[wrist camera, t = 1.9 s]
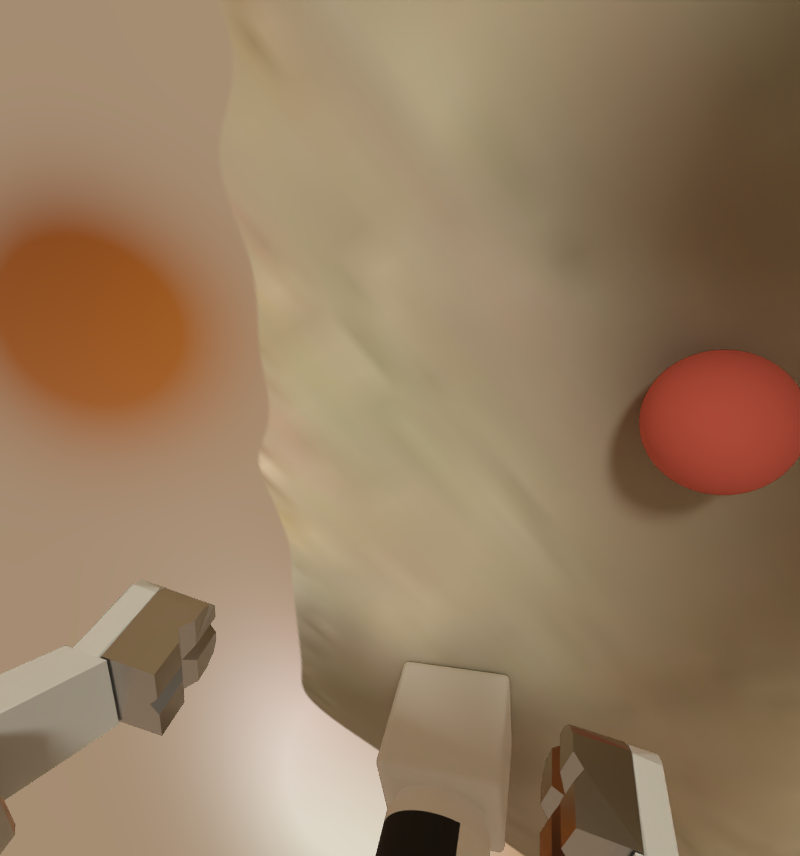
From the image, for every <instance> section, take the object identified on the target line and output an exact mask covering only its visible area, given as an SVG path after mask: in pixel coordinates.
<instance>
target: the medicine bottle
mask: <svg viewBox="0 0 800 856" xmlns="http://www.w3.org/2000/svg"><path fill="white" fill-rule="evenodd" d="M511 749H512V731H511V706H510V682H509V678H508V677H507V676H506V675H503V674H496V673H488V672H481V671H474V670H467V669H459V668H452V667H445V666H437V665H430V664H423V663H415V662H406V663H405V664H404V666H403V670H402V673H401V677H400V680H399V684H398V687H397V691H396V694H395V698H394V701H393V705H392V708H391V712H390V715H389V719H388V722H387V726H386V729H385V733H384V736H383V740H382V743H381V747H380V750H379V754H378V757H377V767H378V771H379V776H380V780H381V783H382V788H383V792H384V796H385V801H386V805H387V812H386V817H385V821H384V824H383V829H382V833H381V837H380V841H379V845H378V849H377V853H376V856H490V850H491V851H496V852H501V851H503V849H504V846H505V834H506V819H507V805H508V791H509V777H510V763H511Z"/></svg>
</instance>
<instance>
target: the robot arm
mask: <svg viewBox="0 0 800 856" xmlns="http://www.w3.org/2000/svg"><path fill="white" fill-rule="evenodd" d="M214 618H215V606H214V605H212V604H209V603H207V602H203V601H201V600H198V599H195V598H192V597H189V596H187V595H184V594H181V593H178V592H175V591H172V590H169V589H167V588H165V587H162V586H159V585H156V584H153V583H150V582H147V581H144V580H140V581H139V582H137V583H135V584H134V585H132V586H131V587H130V588H129V589H128V590H127V591H126V592H125V593H124V594H123V595H122V596H121V597H120V598H119V599H118V601H117V602H116V603H115V604H114V605H113V606H112V607H111V608H110V609H109V610H108V611H107V612H106V613H105V614H104V615H103V616H102V617H101V618H100V619H99V620H98V622H97V623H96V624H95V625H94V626H93V627H92V628H91V629H90V630H89V631H88V632H87V633H86V634H85V635H84V636H83V637H82V638H81V639H80V641H79V642H78V643H77V644H76V645H75V646H74V647H71V646H67V645H65V646H63V647H60V648H58V649H56V650H54V651H51V652H49V653H47V654H45V655H42V656H40V657H38V658H36V659H33V660H31V661H29V662H27V663H24V664H22V665H20V666H17V667H15V668H13V669H11V670H8V671H6V672H4V673H2V674H0V854H1V852H2V851H3V850H4V848H5V847H6V846H7V845H8V843H9V842H10V841H11V839H12V838H13V837H14V835H15V823H14V821H13V818H12V816H11V814H10V812H9V810H8V807H7V805H6V803H5V801H4V800H5V799H7V798H8V797H10V796H12V795H13V794H15V793H16V792H18V791H19V790H21V789H22V788H24V787H25V786H27V785H28V784H30V783H31V782H33V781H34V780H36V779H37V778H39V777H40V776H42V775H43V774H45V773H46V772H48V771H49V770H51V769H52V768H54V767H55V766H57V765H58V764H60V763H61V762H63V761H64V760H66V759H67V758H69V757H71V756H72V755H74V754H75V753H77V752H78V751H79V750H81V749H82V748H84V747H86V746H87V745H89V744H90V743H91V742H93V741H95V740H96V739H98V738H99V737H101V736H102V735H104V734H105V733H107V732H108V731H110V730H111V729H113V728H114V727H115V726H117V725H119V721H121V722H124V723H127V724H129V725H132V726H135V727H138V728H141V729H144V730H147V731H150V732H152V733H156V734H158V735H161V736H162V735H163V733H164V732H165V730H166V729H167V727H168V726H169V724H170V723H171V721H172V720H173V718H174V717H175V715H176V714H177V712H178V711H179V709H180V708H181V706H182V705H183V703H184V688H186V687H187V686H189V685H191V684H193V683H195V682H197V681H198V680H199V679H200V677H201V675H202V674H203V672H204V671H205V669H206V668H207V666H208V663H209V661H210V659H211V656H212V654H213V652H214V647H215V642H216V632H215V630H214V629H213V627H212V626H211V625H210V624H211V622H212V621H213V620H214ZM541 806H542V808H543V810H544V812H545V814H546V816H547V818H548V821H547V823H546V824H545V826H544V828H543V829H542V831H541V832H540V856H679V852H678V847H677V841H676V835H675V830H674V824H673V819H672V813H671V808H670V802H669V797H668V791H667V786H666V780H665V774H664V769H663V763H662V761H661V759H660V757H659V756H658V755H657V754H656V753H654V752H651V751H648V750H645V749H642V748H639V747H636V746H632V745H629V744H626V743H625V742H623V741H620V740H617V739H614V738H611V737H607V736H604V735H601V734H598V733H595V732H592V731H589V730H586V729H582V728H579V727H576V726H573V725H570V724H569V725H566V726H565V727H564V728H563V730H562V732H561V733H560V746H557V747H554V748H552V749H551V751H550V753H549V755H548V757H547V759H546V763H545V767H544V771H543V775H542V784H541Z"/></svg>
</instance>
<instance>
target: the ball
mask: <svg viewBox="0 0 800 856" xmlns="http://www.w3.org/2000/svg"><path fill="white" fill-rule="evenodd" d="M639 427H640V436H641V439H642V443H643V445H644V448H645V450H646V452H647V454H648V456H649V457H650V459H651V460H652V462H653V463H654V464H655V465H656V467H657V468H658V469H659V470H660V471H661V472H662V473H664V474H665V475H666V476H667V477H669V478H670V479H671V480H673V481H675V482H676V483H678V484H680V485H682V486H684V487H686V488H689V489H691V490H694V491H697V492H702V493H706V494H715V495H734V494H741V493H746V492H750V491H754V490H756V489H759V488H762V487H764V486H766V485H768V484H770V483H772V482H773V481H775V480H776V479H778V478H779V477H780V476H782V475H783V474H784V473H785V472H786V471H787V470H788V469H789V468H790V467H791V466H792V465H793V464H794V463H795V461H796V460H797V459H798V457H799V456H800V388H799V387H798V385H797V384H796V383H795V381H794V380H793V379H792V378H791V377H790V375H788V374H787V373H786V372H785V371H784V370H783V369H781V368H780V367H779V366H777V365H776V364H774V363H773V362H771V361H769V360H767V359H765V358H763V357H760V356H758V355H755V354H751V353H748V352H743V351H737V350H712V351H706V352H701V353H698V354H694V355H691V356H689V357H686V358H684V359H682V360H680V361H678V362H676V363H675V364H673V365H672V366H670V367H669V368H667V369H666V370H665V371H664V372H663V373H661V374H660V376H659V377H658V378H657V379H656V380H655V381H654V382H653V384H652V385H651V387H650V388H649V390H648V392H647V394H646V395H645V397H644V400H643V403H642V406H641V411H640V416H639Z"/></svg>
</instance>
